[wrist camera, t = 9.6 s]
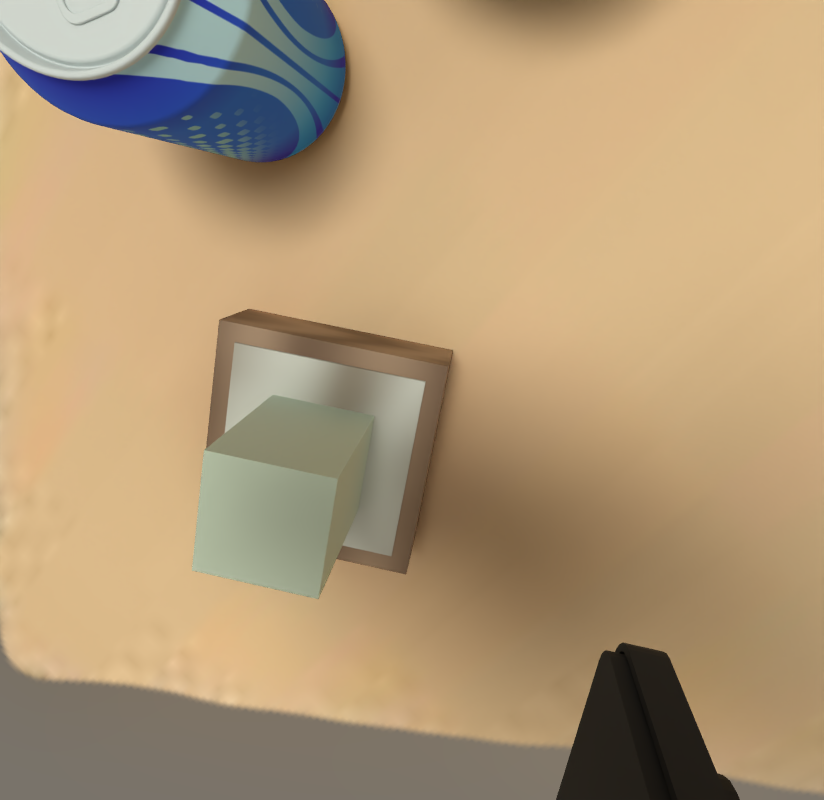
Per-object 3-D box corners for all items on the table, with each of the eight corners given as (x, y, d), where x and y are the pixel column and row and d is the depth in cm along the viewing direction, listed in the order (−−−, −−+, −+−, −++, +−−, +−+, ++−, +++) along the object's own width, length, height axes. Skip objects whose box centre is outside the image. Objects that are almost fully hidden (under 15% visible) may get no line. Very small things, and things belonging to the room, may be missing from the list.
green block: (374, 415, 31) (337, 478, 24) (358, 510, 33) (318, 599, 25) (272, 394, 32) (203, 450, 24) (260, 489, 33) (192, 570, 25)
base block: (452, 350, 34) (448, 367, 30) (414, 537, 37) (405, 575, 33) (248, 309, 35) (218, 320, 31) (227, 496, 38) (196, 529, 34)
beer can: (162, 127, 33) (-119, 47, 18) (208, -55, 31) (-71, -330, 15) (318, 190, 33) (171, 164, 18) (376, 12, 31) (264, -195, 15)
